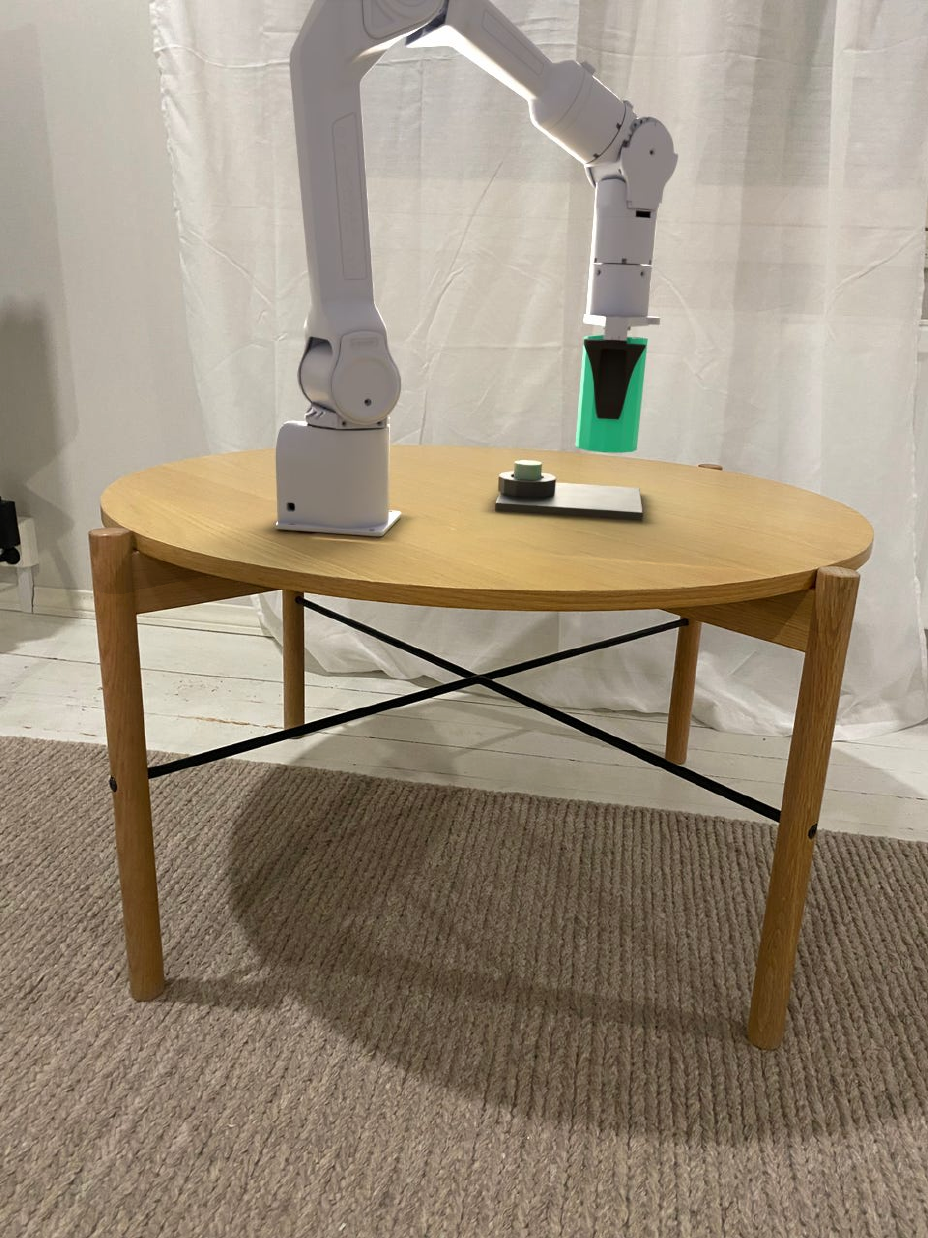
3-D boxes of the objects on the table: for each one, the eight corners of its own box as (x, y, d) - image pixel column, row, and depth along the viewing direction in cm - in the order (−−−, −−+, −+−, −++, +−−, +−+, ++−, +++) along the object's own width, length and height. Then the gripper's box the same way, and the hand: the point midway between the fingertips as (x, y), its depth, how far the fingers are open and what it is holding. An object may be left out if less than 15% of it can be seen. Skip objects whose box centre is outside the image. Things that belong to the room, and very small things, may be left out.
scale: (491, 511, 89) (492, 485, 88) (504, 487, 100) (505, 464, 99) (642, 521, 87) (644, 495, 86) (638, 495, 98) (641, 472, 97)
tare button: (512, 481, 92) (513, 463, 91) (514, 476, 95) (515, 459, 94) (540, 483, 92) (541, 465, 91) (542, 478, 94) (543, 460, 94)
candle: (635, 454, 87) (649, 321, 83) (572, 450, 89) (582, 319, 84) (637, 444, 93) (649, 320, 89) (578, 440, 94) (587, 317, 90)
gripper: (669, 264, 78) (652, 426, 82) (661, 268, 91) (647, 408, 96) (585, 261, 79) (573, 422, 83) (589, 266, 92) (579, 404, 97)
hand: (608, 414), depth 90 cm, fingers closed on candle, 5 cm apart
